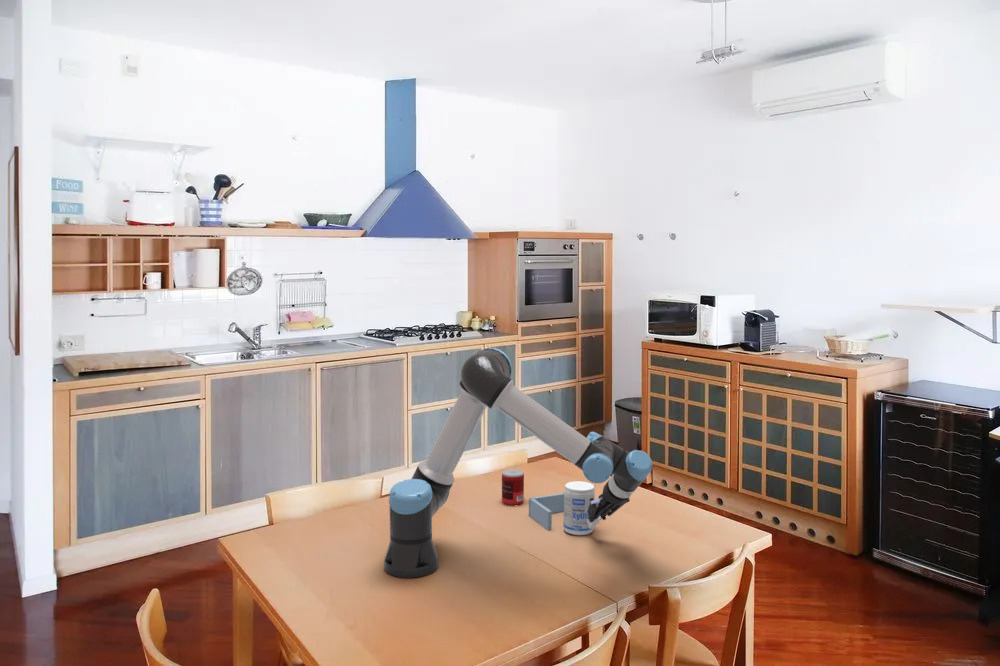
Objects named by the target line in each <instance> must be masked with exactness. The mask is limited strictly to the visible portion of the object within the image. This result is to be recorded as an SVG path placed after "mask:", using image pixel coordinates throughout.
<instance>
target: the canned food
mask: <svg viewBox="0 0 1000 666" xmlns="http://www.w3.org/2000/svg"><path fill="white" fill-rule="evenodd" d="M524 487H525V472H524V471H523V470H522V469H517V468H508V469H507V468H506V469H505V470H503V471H501V502H502V504H503V503H504V504H503V505H505V504H506V506H508V505H518V506H521V505H522V504H524V501H525V500H524V498H525V496H524V495H525V488H524ZM520 504H521V505H520Z"/></svg>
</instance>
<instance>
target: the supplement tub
mask: <svg viewBox="0 0 1000 666" xmlns="http://www.w3.org/2000/svg"><path fill="white" fill-rule="evenodd" d="M563 491H564V492H563V493H564V511H563V530H564V532H566V533H567V534H571V535H574V536H586V535H590V534H591V533H593V532H594V528H592V529H589V527H588V524H587V519H588V518H589V515H588V512H587V510H588V508H589V505H590V499H591V498H594V499H596V497H595V496H596V494H595V492H596V491H595V485H594V484H593V483H592V482H587V481H578V480H577V481H570V482H567V483H566V484H564V490H563Z"/></svg>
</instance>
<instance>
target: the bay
mask: <svg viewBox="0 0 1000 666" xmlns="http://www.w3.org/2000/svg"><path fill="white" fill-rule="evenodd" d="M556 512H557V513H564V492H563V493H554V494H548V495H540V496H533V497H529V498H528V516H529V517H530V518H532V519H533V520H534V521H535V522H537V523H538V524H539V525H540V526H542V527H543V528H544V529H546V530H548V531H551V530H552V520H553V519H552V517H553V516H552V514H555V513H556Z"/></svg>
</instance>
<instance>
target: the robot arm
mask: <svg viewBox="0 0 1000 666" xmlns="http://www.w3.org/2000/svg"><path fill="white" fill-rule="evenodd" d="M512 370H513V365H512V362H511V360H510V357H509V356H508V355H507V354H506V353H505V352H504V351H502V350H501V349H499V348H494V347H489V348H483V349H480V350H479V351H477V353H475V354H473V355H471V356H469V357H468V358H467V359H466V360H465V361H464V363H463V365H462V367H461V371H460V379H461V380H460V381H459V384H458V386H459V389H460V393H459V396H458V397H457V399H456V401H455V403H454V404H453V406H452V410H451V411H450V413H449V415H448V417H447V418H446V420H445V422H444V425H443V427H442V429H441V431H440V433H439V434H438V436H437V439H436V440H435V443H434V445H433V447H432V449H431V451H430V453H429V455H428V456H427V458H426V460H423V461H420V462H419V463H418V464H417V466H416V469H415V471H414V473H413V475H412V476H411V478H409V479H404V480H403V481H398V482H397V483H395V484H394V485H393V486H392V487H391V488H390V491H389V497H388V499H389V500H388V505H389V536H390V537H389V544H388V546H387V550H386V553H385V556H384V559H383V568H384V571H385V572H386V573H387V574H388V575H391V576H394V577H398V578H404V579H405V578H407V579H408V578H409V579H411V578H412V579H413V578H419V577H424V576H427V575H430V574H433V573H434V572H435V571H437V570H438V568H439V555H438V552H437V550H436V546H435V543H434V540H433V517H434V516H435V515H436V513H437V512H438V511H439V510H440V508H441V507H443V506H444V505H445V503H446V502H447V501H448V498H449V494H450V491H451V488H452V487H453V484H454V482H455V477H454V471H455V469H456V468H457V466H458V464H459V462H460V460H461V458H462V455H463V454H464V452H465V450H466V448H467V447H468V444H469V442H470V441H471V439H472V437H473V435H474V432H475V431H476V428H477V427H478V425H479V423H480V420H481V419H482V417H483V415H484V413H485V411H486V409H487V408H490V410H498V411H499V412H501V413H503V414H504V415H505V416H506V417H508V418H510V419H511V420H512V421H514V422H515V423H516V424H518V425H519V426H521V427H522V428H523V429H525V430H526V432H529V433H530V434H532V435H533V436H535V438H537V439H538V440H539V441H541V442H543V443H544V444H545V445H547V446H548V447H549V448H551V449H552V450H554V451H555V452H557V453H558V454H559V455H560V456H562V457H564V458H565V460H567V461H569V462H570V463H572V464H573V465H575V466H576V467H577V468H578V469H579V470H580V471H582V473H583V475H584V477H585V478H586V480H587V481H589V483H591V484H603V483H605V482H606V483H605V484H604V485H603V487H602V488H603V489H602V493H601V494H599V496H598V497H597V498H595V499H594V498H591V499H590V505H589V508H588V510H587V512H588V515H589V518H588V519H587V524H588V527H589V529H592V528H593V529H595V528H596V526H597V525H598V524H599V522H600V521H601V520H602V521H606V520H607V517H611V516H612V515H613V514H614V513H615V512H617V511H618V510H619V509H621V507H623V506H624V505H626V504H627V503H629V502H630V501H631V500H630V497H631V496H632V495H633V494H634V493H635V491H636V490H637V488H639V487H640V485H641V484H642V483H643V482H644V481H645V480H646V479H647V477H648V476H649V474H650V473H651V471H652V469H653V461H652V457H650V455H648V453H646V452H645V451H643V450H638V449H634V450H632V451H630V452H629V451H628V450H626V449H624V448H622V447H621V446H619V445H617V444H615V443H614V442H612V441H611V440H609V438H608V439H607V438H606V437H605V436H604V435H601V434H599V433H598V432H595V431H590V432H589V433H588V435H587V437H586V436H584V435H583V434H581V433H580V432H579V431H577V430H576V429H574V428H573V427H572V426H570V425H569V424H567V422H564V421H563V420H562V419H561V418H559V417H558V416H557V415H555V414H553V413H552V412H551V411H550V410H548V409H547V408H546V407H544V406H543V405H541V404H540V403H539V402H537V401H536V400H535V399H533V398H531V397H530V396H529V395H527V394H526V393H525V392H523V391H522V390H520V389H519V388H518V387H516V386H515V385H514V380H513V379H511V375H512Z"/></svg>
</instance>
